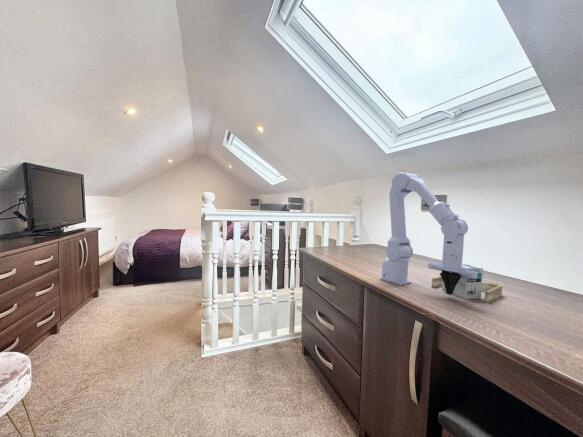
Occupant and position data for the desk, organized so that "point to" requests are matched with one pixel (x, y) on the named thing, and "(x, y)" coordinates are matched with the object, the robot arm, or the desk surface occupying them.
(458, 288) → the light bulb box
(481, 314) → the desk surface
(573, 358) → the desk surface
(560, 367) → the desk surface
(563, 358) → the desk surface
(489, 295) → the wooden frame
